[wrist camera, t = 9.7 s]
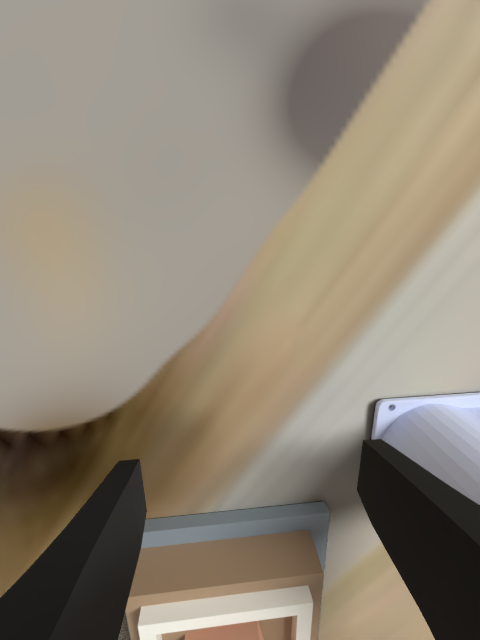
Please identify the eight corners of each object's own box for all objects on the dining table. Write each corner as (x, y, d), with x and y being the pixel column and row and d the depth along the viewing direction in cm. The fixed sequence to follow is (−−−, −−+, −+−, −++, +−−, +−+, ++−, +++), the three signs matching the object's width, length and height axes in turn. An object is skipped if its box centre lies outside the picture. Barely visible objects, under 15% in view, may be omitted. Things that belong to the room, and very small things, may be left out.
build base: (324, 501, 23) (354, 570, 19) (313, 633, 28) (334, 715, 23) (114, 522, 22) (88, 603, 17) (139, 658, 27) (123, 751, 22)
